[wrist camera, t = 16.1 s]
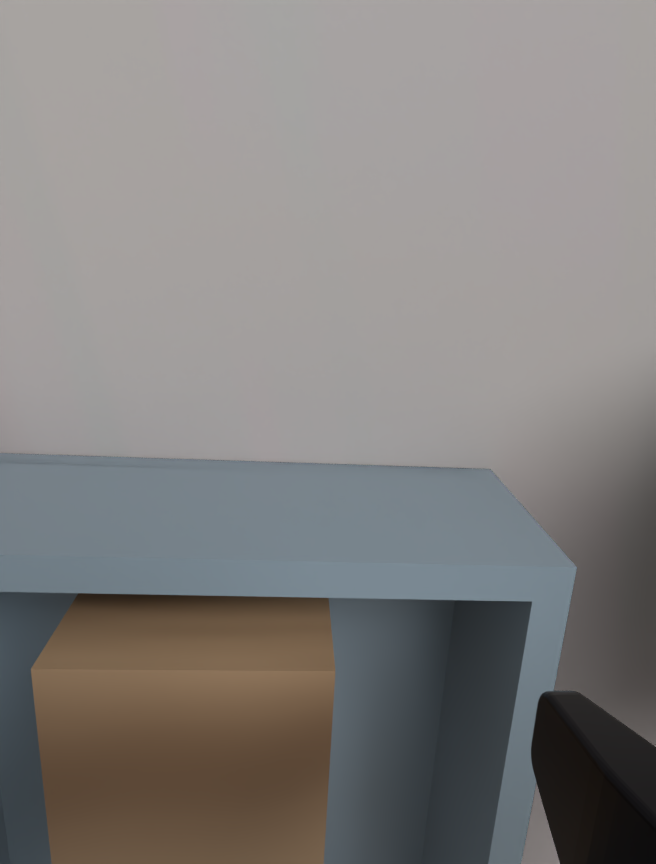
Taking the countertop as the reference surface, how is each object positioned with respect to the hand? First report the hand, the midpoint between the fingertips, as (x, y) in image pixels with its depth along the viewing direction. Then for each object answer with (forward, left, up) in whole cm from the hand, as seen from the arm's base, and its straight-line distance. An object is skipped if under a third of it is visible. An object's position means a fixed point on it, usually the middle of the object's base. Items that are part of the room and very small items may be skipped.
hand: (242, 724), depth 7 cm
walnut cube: (+1, +4, -8) cm, 9 cm away
